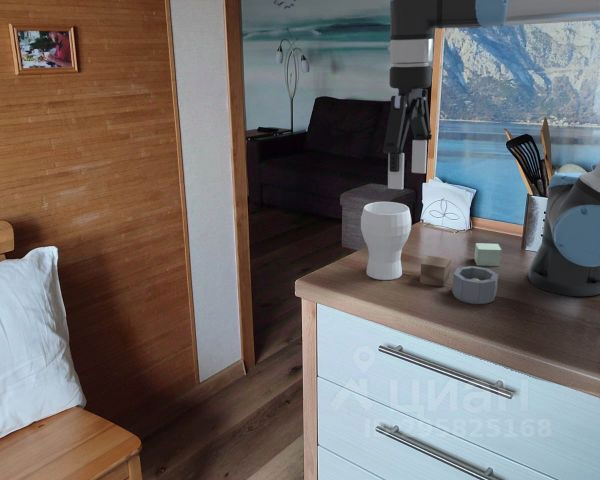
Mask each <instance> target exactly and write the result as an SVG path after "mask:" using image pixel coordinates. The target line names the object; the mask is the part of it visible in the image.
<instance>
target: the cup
mask: <svg viewBox="0 0 600 480" xmlns="http://www.w3.org/2000/svg"><path fill="white" fill-rule="evenodd" d="M360 230H361V233H362V237H363V240H364V242H365V244H366V246H367V249H368V261H367V264H366V265H367V266H366V271H365V272H366V275H367V276H368V277H370V278H372V279H375V280H383V281H390V280H391V281H392V280H396V279H398V278H400V277H402V275H403V271H402V270H403V269H402V262H401V261H402V260H401V256H402V251H403V248H404V246H405V244H406V242H407V241H408V238H409V237H410V233H411V230H412V216H411V211H410V208H409V206H407V205H406V204H404V203H399V202H394V201H375V202H371V203H368V204H366V205H364V207H363V208H362V213H361V216H360Z"/></svg>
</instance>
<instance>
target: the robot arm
mask: <svg viewBox="0 0 600 480" xmlns="http://www.w3.org/2000/svg"><path fill="white" fill-rule="evenodd" d="M389 5H390V11H389V14H390V15H389V16H390V23H389V25H390V28H389V30H390V35H389V36H390V39H389V40H390V45H389V46H388V47H387V51H388V52H389V54H390V55H389V57H390V58H389V63H391V64H392V66H390V68H389V87H390V88H392V89H397V90H398V92H397V95H391V97H390V108H389V115H388V120H387V126H386V132H385V137H384V142H383V143H384V144H383V148H382V152H383V153H384V154H388V157H387V159H388V160H387V161H388V162H387V163H388V164H387V166H388V167H387V189H393V190H403V189H404V185H405V184H404V183H405V182H404V180H405V179H404V178H405V175H404V174H405V153H404V152H403V150H404V146H405V142H406V139H407V135H408V132H409V127H411V129H412V133H413V137H414V138H413V139H412V147H411V151H412V152H411V153H412V154H411V173H413V174H426V173H427V149H428V148H427V147H428V140H429V141H431V140H432V138H433V134H431V133H432V130H431V122H430V121H431V120H430V112H429V104H428V103H429V102H428V89H427V88H429V87H430V88H431V86H432V81H433V78H432V76H433V67H432V66H431V65H430V63H433V57H434V56H433V55H434V31H435V29H439V30H441V29H443V30H444V29H459V28H460V29H464V28H465V29H466V28H467V29H479V28H483V29H486V28H490V27H491V28H493V27H503V26H505V27H506V26H517V25H518V26H521V25H523V26H524V25H539V24H556V23H557V24H558V23H573V22H574V23H575V22H577V23H578V22H589V21H590V22H593V21H600V0H389ZM547 190H548V194H547V199H546V200H547V201H546V208H545V213H544V214H545V216H544V223H543V230H542V238H541V243H540V246H539V247H538V249H537V252H536V253H535V255H534V256H533V259H532V261H531V263H530V265H529V269H528V276H527V277H528V280H529V281H530V282H531V283H532V284H533V285H534V286H536V287H538V288H540V289H542V290H545V291H548V292H550V293H554V294H559V295H563V296H571V297H593V296H598V295H600V161H599V162H598V164H597V165H596V166H595V168H594V169H593V170H592V171H589V172H557V173H554V174H553V175H552V176H551V177H550V179H549V184H548V186H547Z"/></svg>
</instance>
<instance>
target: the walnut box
mask: <svg viewBox="0 0 600 480" xmlns="http://www.w3.org/2000/svg"><path fill="white" fill-rule="evenodd" d="M451 261H452V260H451V258H446V257H439V256H433V255H427V256H426V257H425V258H424V260H422V262H421V264H420V276H419V284H424V285H425V284H426V285H431V286H435V287H436V286H437V287H442V288H444V287H445V285H446V284H447V283H448V281H449V279H450V275H451V263H452V262H451Z"/></svg>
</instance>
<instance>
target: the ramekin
mask: <svg viewBox="0 0 600 480" xmlns="http://www.w3.org/2000/svg"><path fill="white" fill-rule="evenodd" d="M452 277H453V278H452V291H451V292H452V295H453V296H454V298H456V299H457V300H458V301H461V302H463V303H465V304H473V305H486V304H489V303H493V302H494V300H495V298H496V296H497V290H498V282H499V281H498V279H499V274H498V273H496V271H495V272H494V271H493V270H491V269H490V268H486V267H481V266H477V265H475V266H474V265H469V266H463V267H457V268H456V269H455V271H454V272H453V276H452ZM473 278H477V279H479V280H480V281H477V280H471V279H473Z"/></svg>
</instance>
